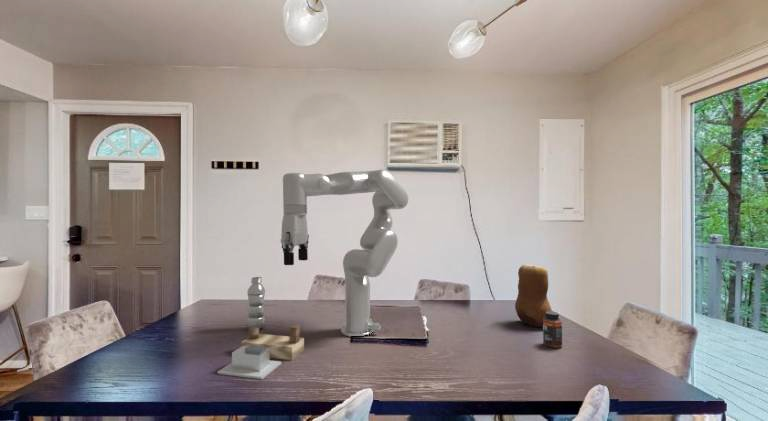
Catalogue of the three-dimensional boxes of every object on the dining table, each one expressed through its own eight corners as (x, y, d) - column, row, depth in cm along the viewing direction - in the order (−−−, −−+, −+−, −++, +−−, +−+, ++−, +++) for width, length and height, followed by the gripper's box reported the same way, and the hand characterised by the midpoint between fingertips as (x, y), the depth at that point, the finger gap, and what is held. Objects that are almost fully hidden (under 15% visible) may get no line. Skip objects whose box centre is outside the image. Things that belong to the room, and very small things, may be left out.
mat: (281, 363, 100) (281, 361, 100) (261, 379, 91) (261, 377, 91) (240, 358, 103) (240, 357, 103) (217, 373, 94) (217, 371, 94)
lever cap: (269, 364, 99) (269, 344, 99) (259, 371, 94) (260, 351, 94) (242, 361, 101) (243, 342, 101) (231, 368, 96) (232, 348, 96)
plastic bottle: (259, 332, 128) (259, 279, 128) (243, 330, 129) (244, 279, 129) (268, 326, 134) (268, 276, 134) (253, 325, 135) (253, 276, 136)
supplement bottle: (564, 345, 116) (564, 312, 116) (559, 350, 111) (559, 316, 112) (546, 340, 120) (546, 309, 120) (540, 345, 116) (540, 312, 116)
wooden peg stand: (303, 350, 111) (304, 322, 111) (292, 360, 103) (292, 330, 103) (255, 345, 115) (256, 318, 115) (240, 354, 107) (241, 326, 107)
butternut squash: (553, 323, 140) (553, 263, 140) (549, 332, 128) (549, 267, 129) (518, 318, 147) (518, 261, 147) (511, 326, 136) (511, 264, 136)
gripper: (297, 210, 119) (298, 258, 119) (270, 211, 102) (271, 266, 102) (316, 210, 118) (317, 258, 118) (292, 210, 101) (294, 267, 101)
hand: (296, 262), depth 110 cm, fingers open, 9 cm apart
